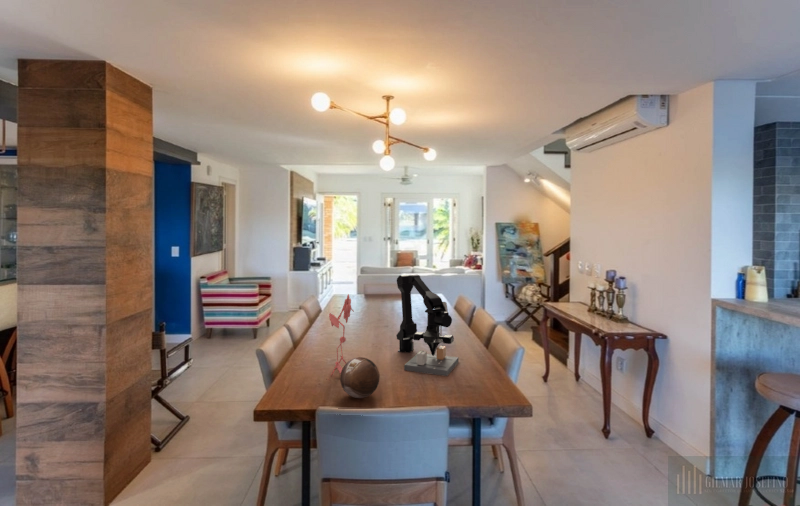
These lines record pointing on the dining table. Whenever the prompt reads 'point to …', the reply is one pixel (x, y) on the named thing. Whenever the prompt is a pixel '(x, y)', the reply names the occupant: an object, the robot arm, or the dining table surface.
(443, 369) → the console board
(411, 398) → the dining table surface
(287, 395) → the dining table surface
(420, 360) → the white fader
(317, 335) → the dining table surface
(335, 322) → the figurine
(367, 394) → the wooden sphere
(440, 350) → the orange fader
